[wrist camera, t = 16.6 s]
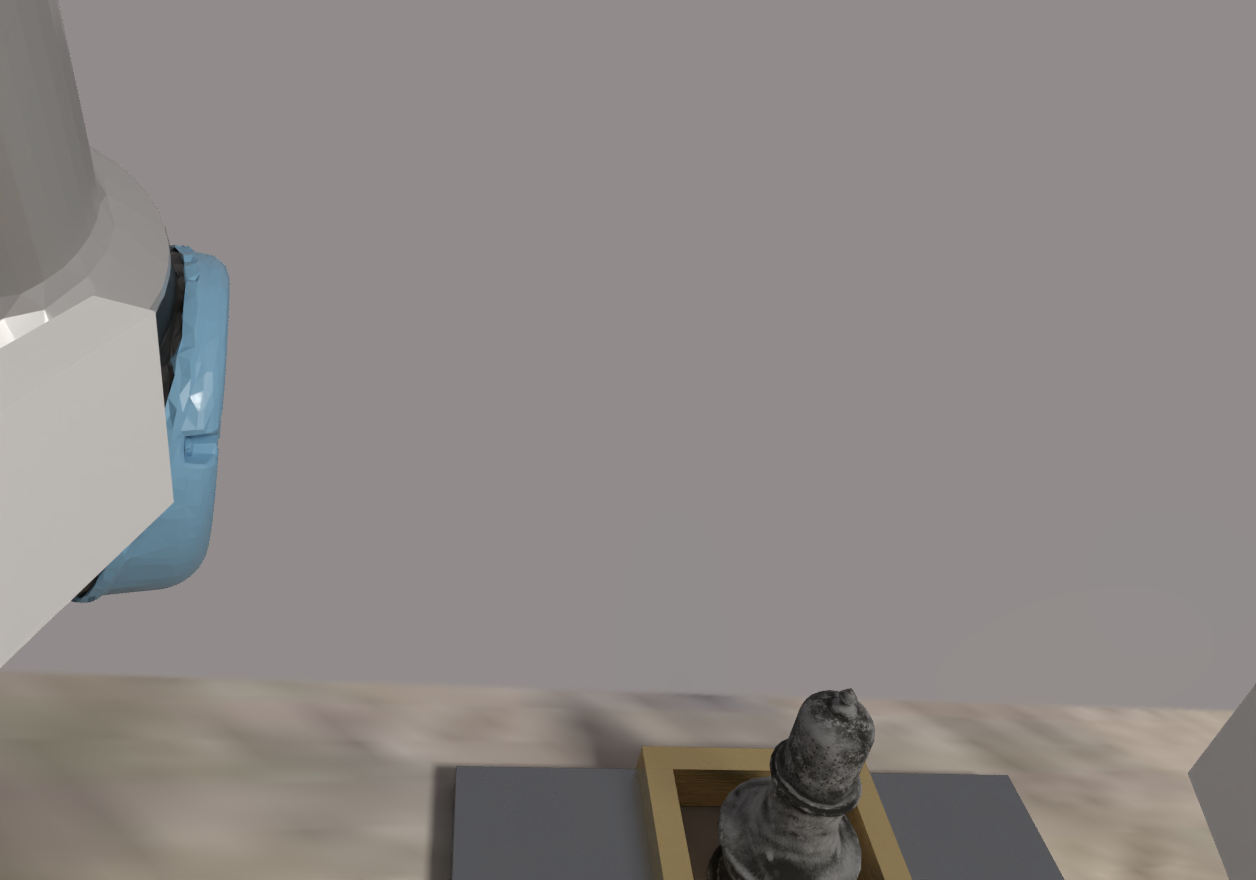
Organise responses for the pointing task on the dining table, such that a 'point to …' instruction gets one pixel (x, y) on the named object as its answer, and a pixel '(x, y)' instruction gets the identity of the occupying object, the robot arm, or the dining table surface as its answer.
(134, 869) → the dining table surface
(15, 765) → the dining table surface
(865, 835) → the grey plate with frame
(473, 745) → the dining table surface
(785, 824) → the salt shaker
